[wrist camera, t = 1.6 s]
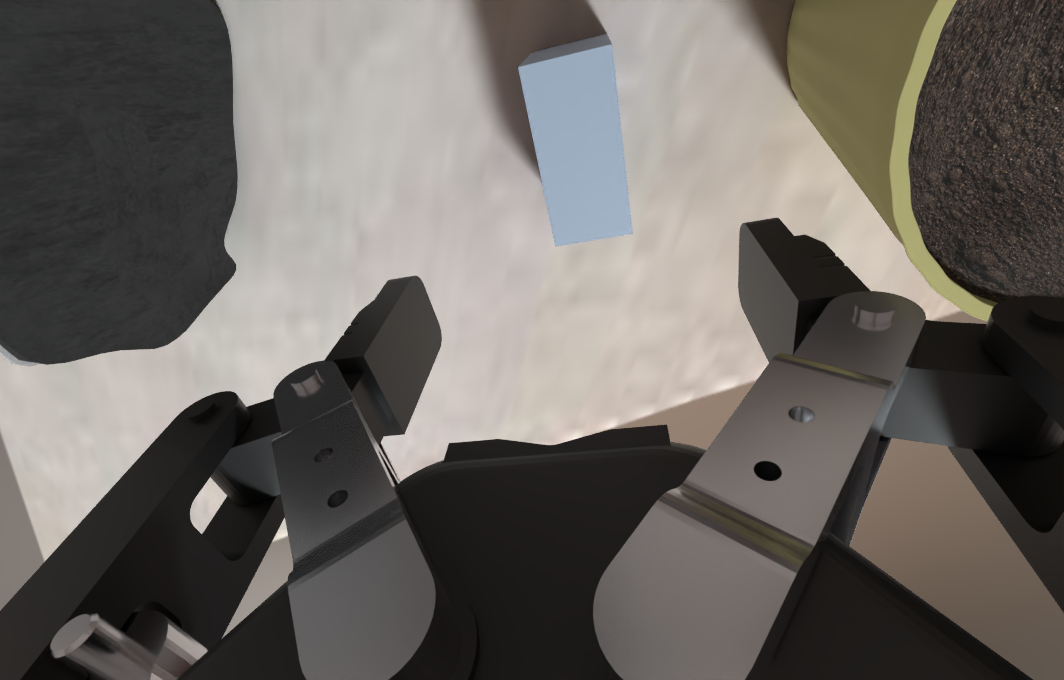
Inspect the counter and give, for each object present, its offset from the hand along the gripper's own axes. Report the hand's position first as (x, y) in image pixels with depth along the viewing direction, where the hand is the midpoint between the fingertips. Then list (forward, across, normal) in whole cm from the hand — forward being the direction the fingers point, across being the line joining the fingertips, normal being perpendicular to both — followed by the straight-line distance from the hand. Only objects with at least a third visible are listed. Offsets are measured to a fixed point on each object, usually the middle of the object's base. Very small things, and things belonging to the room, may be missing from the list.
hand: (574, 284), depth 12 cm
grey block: (+17, 0, 0) cm, 17 cm away
